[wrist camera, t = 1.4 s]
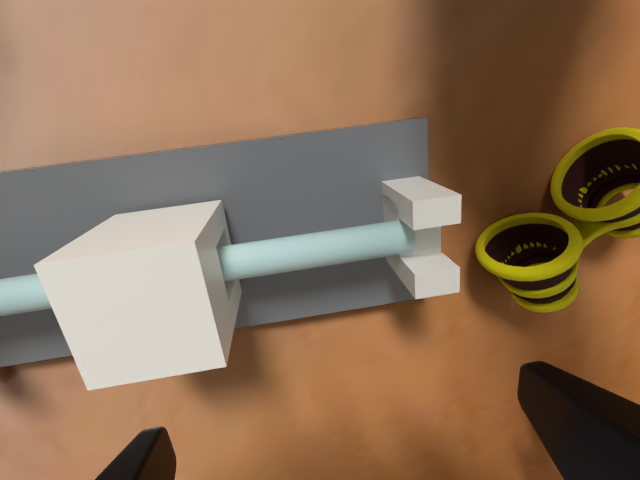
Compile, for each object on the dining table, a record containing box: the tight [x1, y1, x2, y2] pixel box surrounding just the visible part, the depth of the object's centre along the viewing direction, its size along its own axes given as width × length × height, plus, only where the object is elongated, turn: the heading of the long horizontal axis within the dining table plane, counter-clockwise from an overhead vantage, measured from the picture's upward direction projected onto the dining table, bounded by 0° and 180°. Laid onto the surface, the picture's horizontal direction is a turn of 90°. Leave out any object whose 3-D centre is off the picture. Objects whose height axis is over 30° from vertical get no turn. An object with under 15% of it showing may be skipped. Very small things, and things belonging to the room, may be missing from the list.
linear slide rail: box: [0, 118, 462, 367], centre depth 16 cm, size 26×10×6 cm, turn 97°
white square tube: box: [34, 200, 242, 390], centre depth 15 cm, size 5×5×6 cm
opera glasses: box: [475, 127, 640, 313], centre depth 19 cm, size 10×5×5 cm, turn 137°
